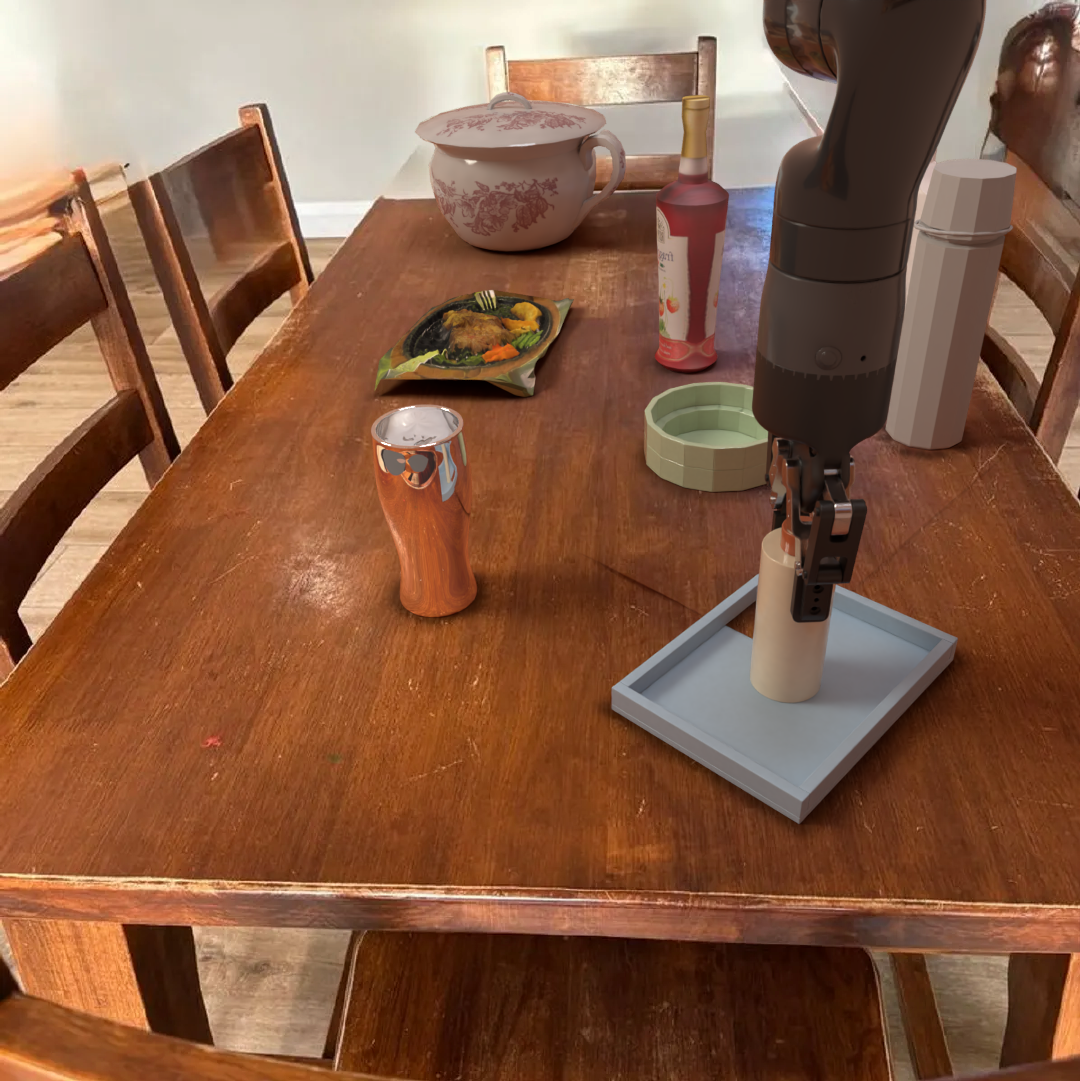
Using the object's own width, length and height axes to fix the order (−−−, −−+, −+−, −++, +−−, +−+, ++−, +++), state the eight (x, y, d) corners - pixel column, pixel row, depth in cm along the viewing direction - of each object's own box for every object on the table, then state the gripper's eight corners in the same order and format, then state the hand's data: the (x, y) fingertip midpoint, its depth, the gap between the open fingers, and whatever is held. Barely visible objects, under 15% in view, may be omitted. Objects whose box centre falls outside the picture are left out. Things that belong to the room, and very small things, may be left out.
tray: (775, 579, 79) (777, 558, 78) (953, 660, 71) (958, 637, 70) (611, 709, 68) (611, 687, 67) (799, 824, 59) (802, 801, 58)
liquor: (728, 375, 110) (746, 101, 95) (664, 384, 109) (671, 108, 93) (705, 349, 116) (718, 87, 101) (644, 358, 115) (648, 94, 99)
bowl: (700, 415, 103) (703, 370, 100) (814, 456, 95) (820, 408, 92) (616, 465, 95) (616, 417, 92) (731, 513, 87) (735, 463, 85)
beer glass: (382, 584, 81) (354, 417, 73) (461, 559, 84) (443, 394, 75) (413, 632, 76) (387, 458, 67) (497, 603, 78) (482, 432, 70)
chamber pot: (405, 228, 160) (388, 88, 149) (563, 202, 168) (559, 67, 157) (462, 282, 139) (448, 122, 127) (641, 249, 147) (642, 96, 135)
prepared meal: (437, 275, 130) (574, 276, 127) (440, 301, 132) (575, 303, 129) (363, 374, 108) (526, 379, 105) (369, 403, 111) (529, 409, 107)
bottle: (775, 646, 72) (791, 497, 65) (834, 676, 69) (858, 524, 62) (735, 681, 69) (748, 528, 62) (796, 713, 66) (816, 558, 59)
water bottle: (973, 457, 93) (1035, 180, 79) (885, 454, 95) (930, 180, 81) (955, 412, 101) (1009, 151, 87) (874, 410, 102) (914, 152, 88)
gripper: (940, 396, 49) (889, 659, 59) (859, 291, 61) (827, 524, 71) (786, 403, 49) (759, 664, 59) (735, 297, 61) (720, 528, 71)
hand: (796, 586), depth 65 cm, fingers open, 5 cm apart
